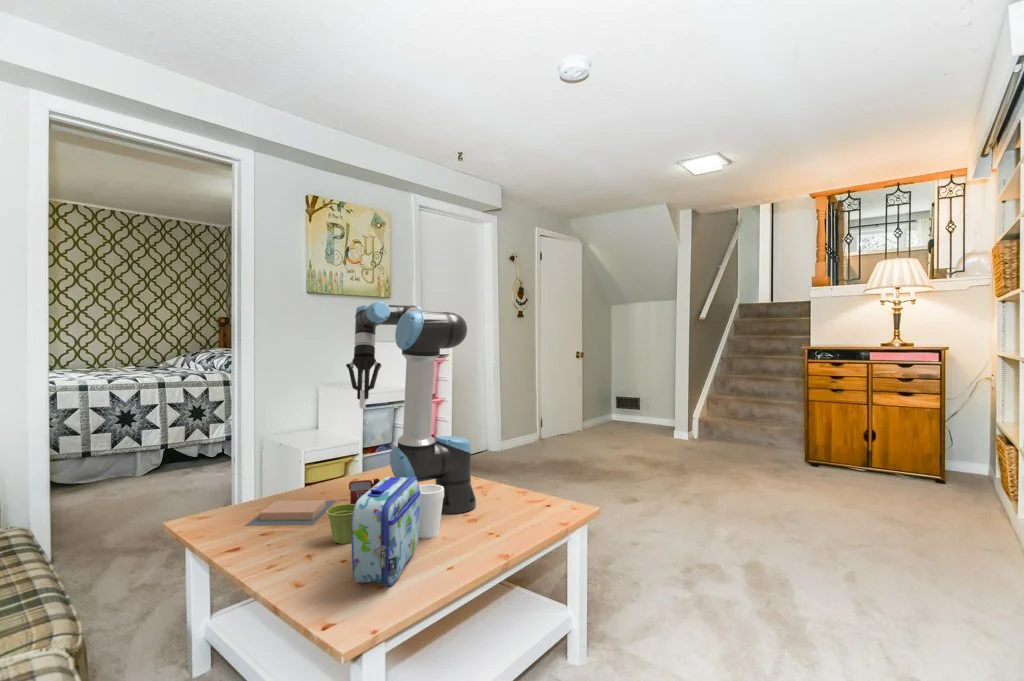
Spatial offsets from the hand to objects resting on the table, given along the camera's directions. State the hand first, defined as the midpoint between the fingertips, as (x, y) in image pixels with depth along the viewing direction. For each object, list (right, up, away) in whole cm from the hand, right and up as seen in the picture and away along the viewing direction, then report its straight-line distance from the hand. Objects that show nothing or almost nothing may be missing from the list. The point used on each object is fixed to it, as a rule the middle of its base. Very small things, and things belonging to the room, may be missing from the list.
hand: (362, 408), depth 193 cm
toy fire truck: (+8, -31, -22) cm, 39 cm away
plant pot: (+8, -31, -47) cm, 57 cm away
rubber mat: (-15, -31, -25) cm, 42 cm away
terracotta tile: (-14, -29, -20) cm, 38 cm away
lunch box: (+25, -31, -64) cm, 76 cm away
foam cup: (+31, -31, -42) cm, 61 cm away
